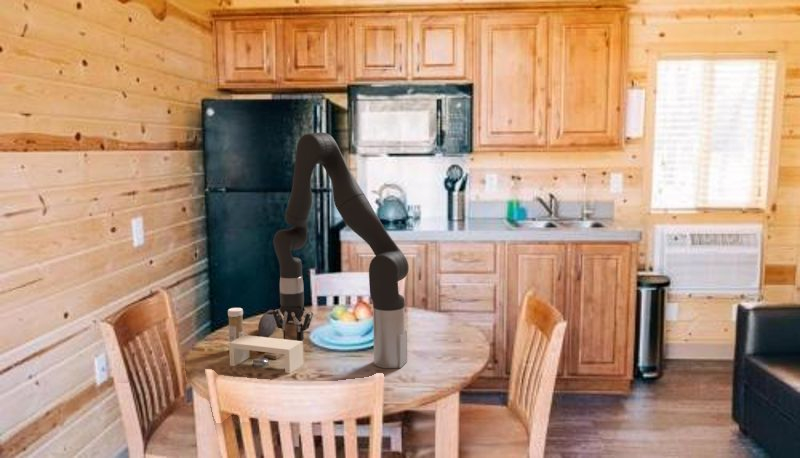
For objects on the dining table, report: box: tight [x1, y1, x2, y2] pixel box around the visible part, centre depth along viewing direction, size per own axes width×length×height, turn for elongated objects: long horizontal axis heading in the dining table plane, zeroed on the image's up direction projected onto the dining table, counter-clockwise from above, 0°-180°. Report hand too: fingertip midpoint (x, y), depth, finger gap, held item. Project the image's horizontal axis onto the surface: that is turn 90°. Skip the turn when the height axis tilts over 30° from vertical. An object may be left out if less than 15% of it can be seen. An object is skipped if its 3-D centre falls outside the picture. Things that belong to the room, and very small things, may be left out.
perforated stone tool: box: [257, 309, 278, 338], centre depth 215 cm, size 15×5×7 cm, turn 175°
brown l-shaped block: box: [263, 321, 298, 360], centre depth 198 cm, size 4×16×7 cm, turn 160°
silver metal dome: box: [252, 357, 269, 368], centre depth 186 cm, size 4×4×2 cm
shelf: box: [228, 334, 305, 374], centre depth 185 cm, size 20×8×7 cm, turn 70°
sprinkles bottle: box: [227, 307, 245, 343], centre depth 198 cm, size 5×5×13 cm
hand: (293, 341), depth 204 cm, fingers closed on brown l-shaped block, 4 cm apart
